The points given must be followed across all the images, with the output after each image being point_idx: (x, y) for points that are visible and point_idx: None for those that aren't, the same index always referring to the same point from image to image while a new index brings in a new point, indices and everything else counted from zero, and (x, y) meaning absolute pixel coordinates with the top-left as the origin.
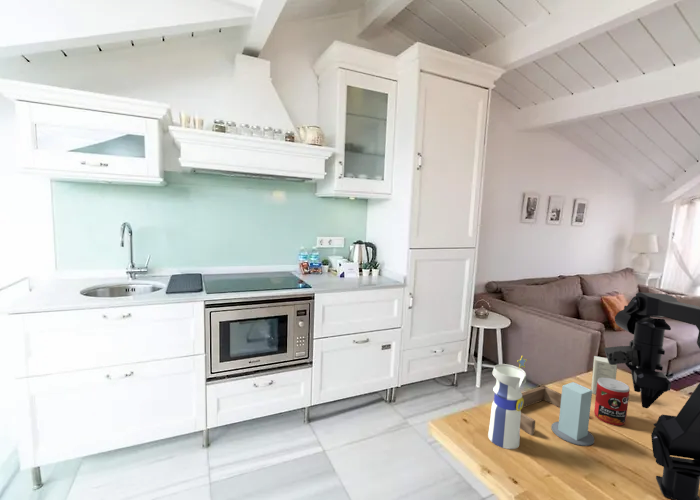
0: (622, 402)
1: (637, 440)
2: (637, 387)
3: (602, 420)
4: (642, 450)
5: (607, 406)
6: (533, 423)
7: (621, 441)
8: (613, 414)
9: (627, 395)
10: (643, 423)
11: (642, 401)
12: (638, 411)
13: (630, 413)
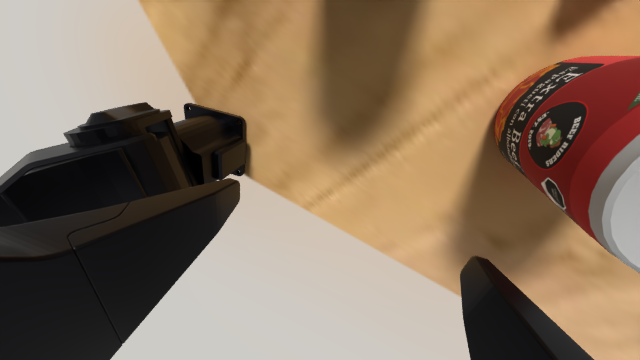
0: (544, 176)
1: (405, 152)
2: (477, 294)
3: (528, 77)
4: (354, 141)
5: (555, 97)
6: None
7: (385, 98)
8: (516, 119)
9: (578, 224)
10: (521, 221)
11: (188, 190)
12: None
13: None
